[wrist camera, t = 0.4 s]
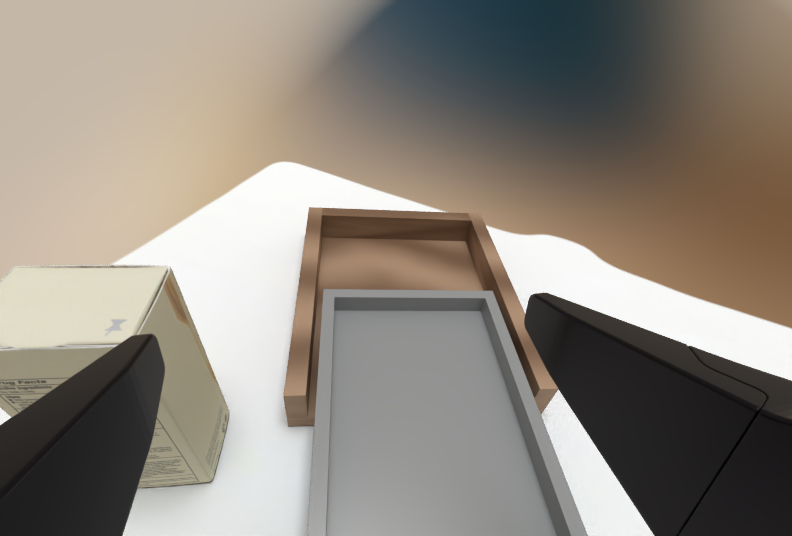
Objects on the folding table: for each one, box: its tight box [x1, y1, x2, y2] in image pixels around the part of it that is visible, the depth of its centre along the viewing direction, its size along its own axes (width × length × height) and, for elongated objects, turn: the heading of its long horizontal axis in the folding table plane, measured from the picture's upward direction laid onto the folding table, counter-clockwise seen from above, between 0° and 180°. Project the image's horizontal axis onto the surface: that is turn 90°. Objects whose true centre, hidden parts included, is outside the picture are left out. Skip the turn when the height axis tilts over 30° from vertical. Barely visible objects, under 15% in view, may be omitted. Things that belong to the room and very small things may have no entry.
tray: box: [307, 289, 588, 536], centre depth 23 cm, size 18×16×4 cm
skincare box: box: [0, 265, 229, 488], centre depth 18 cm, size 6×4×12 cm
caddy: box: [284, 207, 558, 426], centre depth 31 cm, size 19×16×4 cm
